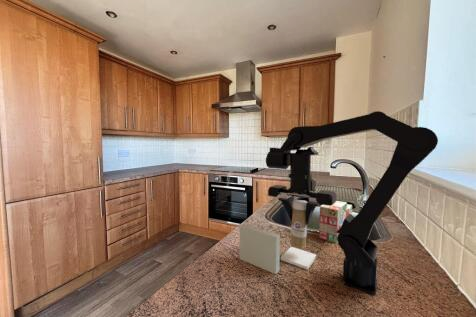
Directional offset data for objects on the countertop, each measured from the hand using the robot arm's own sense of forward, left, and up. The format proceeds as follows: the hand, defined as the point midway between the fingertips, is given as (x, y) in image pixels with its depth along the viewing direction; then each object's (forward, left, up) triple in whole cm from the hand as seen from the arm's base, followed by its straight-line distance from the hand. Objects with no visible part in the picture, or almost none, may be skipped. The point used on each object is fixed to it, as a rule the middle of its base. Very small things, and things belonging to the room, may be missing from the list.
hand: (299, 222), depth 58 cm
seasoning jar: (0, 0, -7) cm, 7 cm away
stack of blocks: (-5, -28, -11) cm, 31 cm away
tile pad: (0, 0, -11) cm, 11 cm away
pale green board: (+8, +10, -11) cm, 17 cm away
